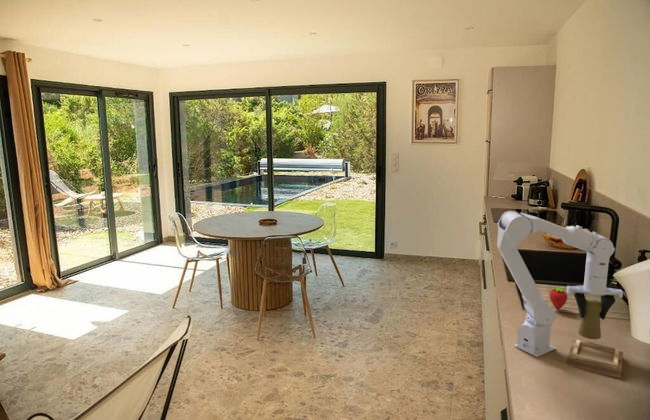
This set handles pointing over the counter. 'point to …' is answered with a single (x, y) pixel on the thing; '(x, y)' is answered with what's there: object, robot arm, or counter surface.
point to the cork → (591, 320)
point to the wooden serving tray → (595, 358)
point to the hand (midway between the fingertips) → (591, 317)
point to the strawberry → (558, 297)
